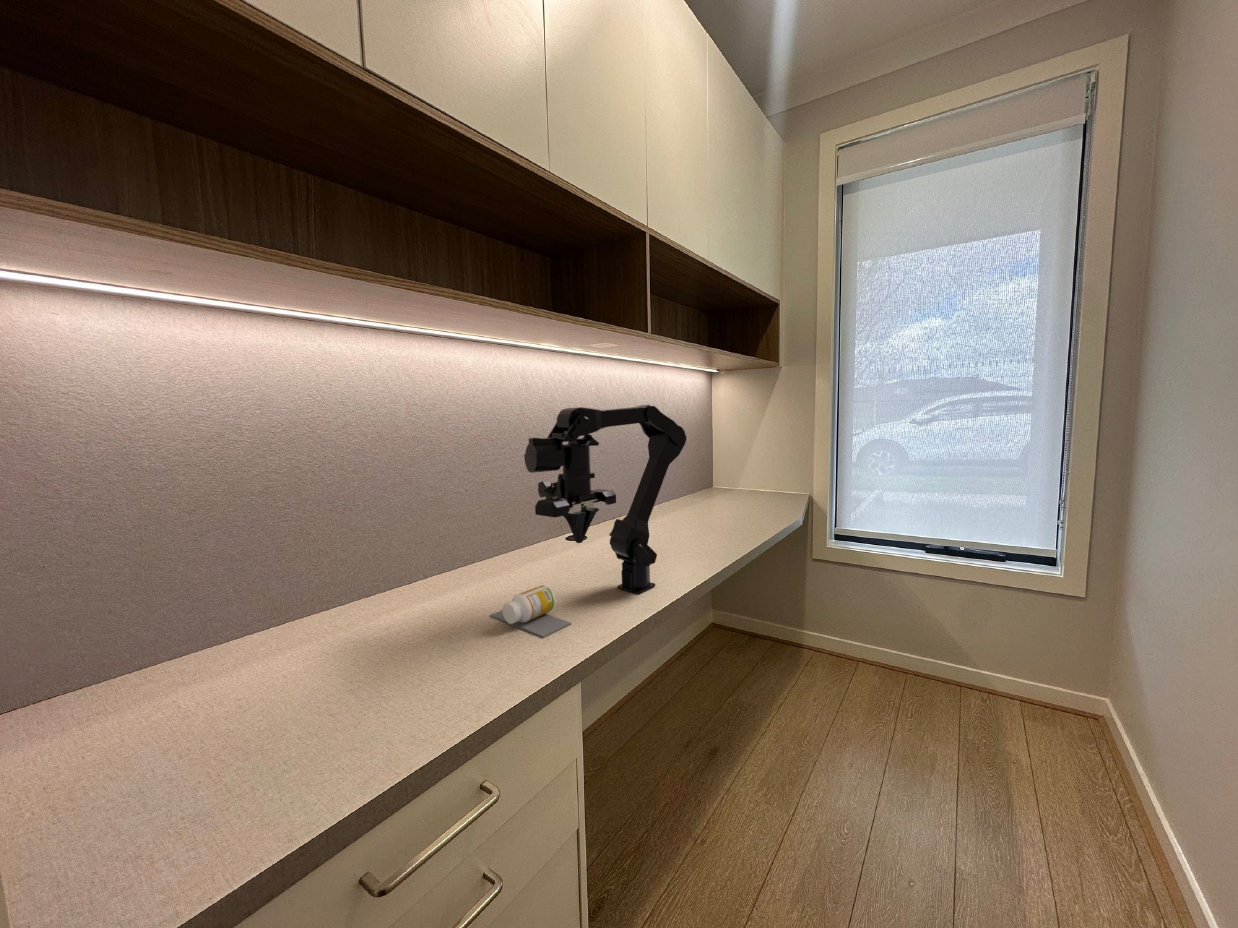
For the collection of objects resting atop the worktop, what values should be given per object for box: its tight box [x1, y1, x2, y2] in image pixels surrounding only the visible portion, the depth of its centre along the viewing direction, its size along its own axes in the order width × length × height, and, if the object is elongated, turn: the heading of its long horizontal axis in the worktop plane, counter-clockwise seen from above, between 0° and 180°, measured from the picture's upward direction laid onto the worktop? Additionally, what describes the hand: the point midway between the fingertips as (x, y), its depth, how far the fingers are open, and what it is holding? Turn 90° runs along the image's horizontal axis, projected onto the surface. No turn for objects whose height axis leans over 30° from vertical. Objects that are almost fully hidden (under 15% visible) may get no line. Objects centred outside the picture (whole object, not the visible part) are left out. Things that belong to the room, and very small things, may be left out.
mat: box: [489, 609, 572, 639], centre depth 94 cm, size 7×16×1 cm, turn 51°
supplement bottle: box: [501, 584, 556, 625], centre depth 94 cm, size 5×5×10 cm
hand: (579, 542), depth 101 cm, fingers closed
